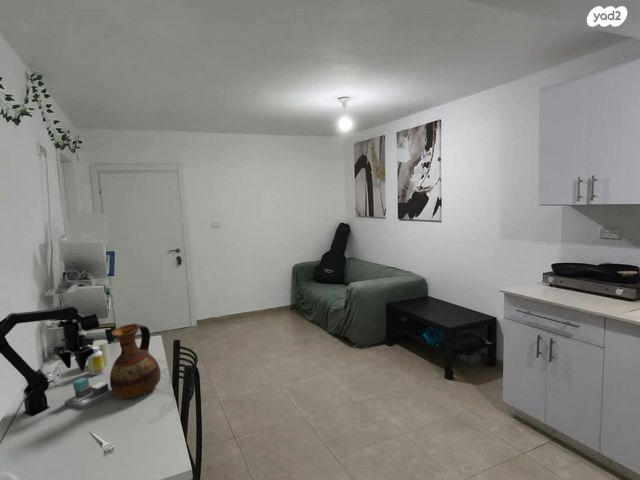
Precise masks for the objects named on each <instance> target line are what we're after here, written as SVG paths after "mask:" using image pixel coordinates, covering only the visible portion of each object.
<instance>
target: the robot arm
mask: <svg viewBox="0 0 640 480" xmlns="http://www.w3.org/2000/svg"><path fill="white" fill-rule="evenodd" d="M51 320H52V321H55V320H56V321H59V322H57V324H56V325H55V326H56V327H57V328H62V334H63V337H61V342H64V343H61V344H58V345H55V346H54V348H53V354H55V355H56V356H57V357H58V358H59V360H60V361H61V362H62V363H63V364H64V365H65V367H66V368H67V369H70V368H72V367H71V366H72V357H71V355H72V354H74V361H75V362H76V365H77V366H78V369H79V370H80V372H84V371H85V369H86V364H87V359H88V357H89V356H91V355H92V354H94V349H93V348H91V347H88V346H87V345H93V342H94V341H95V337H91V336H86V334H80V330H81V331H83V332H89V331H92V330H95V329H100V321H99V318H98V317H97V313H95V312H93V313H91V314H87V315H81V314H80V313H79V310H78V308H77V307H75V306H73V305H71V304H65V305H62V306H61V305H60V306H56V307H54V308H51V309H45V310H35V311H24V312H12V313H9V314H8V315H7V316H5V318H3V319H2V320H0V354H1V355H2V356H3V357H4V358H5V360H7V361H8V362H9V363H10V364H11V365H12V366H13V367H14V368H15V370H17V371H18V373H19V374H20V375H21V376H23V378H24V379H25V381H26V382H27V384H28V385H26V387H25V388H24V389H23V391H22V392H23V394H24V396H25V398H23V402H24V411H22V413H23V414H25V415H29V416H35V415H37V414H40V413H41V412H43V411H45V410H47V409H49V408H50V406H49V405H48V398H47V395H46V394H45V392H46V391H47V390H48V389H49V386H50V382H49V380H50V379H49V377H48V376H47V374H45V373H44V372H43V371H42V369H40V368H38V369H37V370H35V369H34V368H32V367H31V366H30V365H29V364H28V362H27V361H25V359H23V357H22V356H21V355H20V354H19V353H18V352H17V351H16V350H15V349H14V348H13V347H12V346H11V345H10V344H9V341H8V340H7V338H6V336H7V335H8V334H9V333H10V332H11V331H12V330H13V328H14V327H15V326H16V325H18V324H25V323H27V324H28V323H33V322H42V321H43V322H44V321H51Z"/></svg>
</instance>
